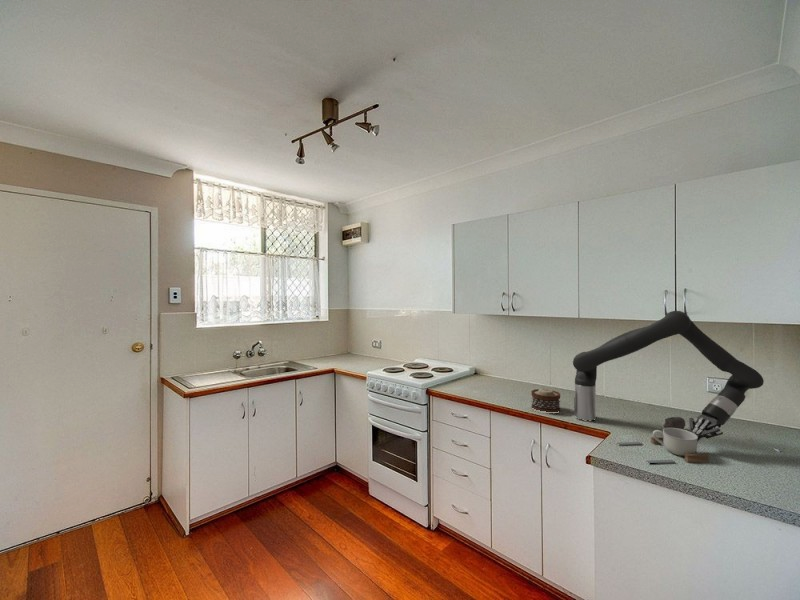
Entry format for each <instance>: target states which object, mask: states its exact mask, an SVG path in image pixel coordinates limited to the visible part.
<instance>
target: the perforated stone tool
mask: <svg viewBox="0 0 800 600" xmlns="http://www.w3.org/2000/svg"><path fill="white" fill-rule="evenodd" d="M685 427H686V421H685V419H684V418H683V417H681V416H671V417H667V418H665V419H664V424H663V429H665V428H678V429H683V430H685Z"/></svg>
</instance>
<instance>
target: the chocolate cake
mask: <svg viewBox="0 0 800 600" xmlns="http://www.w3.org/2000/svg"><path fill="white" fill-rule="evenodd" d="M530 395H531V398H530V399H532V400H531V401H530V402H531V409H532V408H534V409H536V410H540V411H546V412H558V411H560V412H561V406H560V405H561V400H560V399H561V393H560V392H559V391H557V390H552V389H549V388H537V389H532V390H531V394H530Z"/></svg>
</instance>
